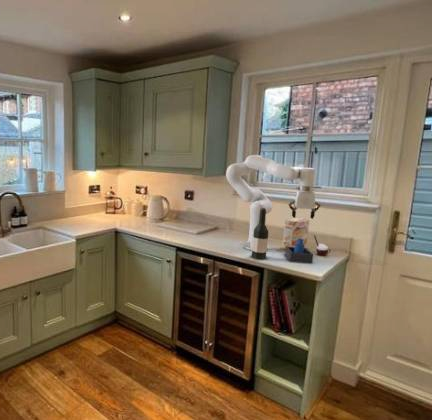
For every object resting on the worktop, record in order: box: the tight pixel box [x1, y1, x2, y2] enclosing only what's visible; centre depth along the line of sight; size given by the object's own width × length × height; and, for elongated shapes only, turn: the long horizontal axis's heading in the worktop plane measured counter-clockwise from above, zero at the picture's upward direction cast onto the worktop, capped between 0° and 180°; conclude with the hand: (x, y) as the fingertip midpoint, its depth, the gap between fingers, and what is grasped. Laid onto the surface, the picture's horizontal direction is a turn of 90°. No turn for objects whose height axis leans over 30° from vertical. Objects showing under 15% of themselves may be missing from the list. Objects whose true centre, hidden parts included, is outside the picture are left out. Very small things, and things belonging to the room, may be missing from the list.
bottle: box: [294, 238, 305, 253], centre depth 214 cm, size 5×5×12 cm
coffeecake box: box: [281, 217, 311, 250], centre depth 234 cm, size 15×7×20 cm, turn 115°
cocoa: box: [313, 234, 331, 256], centre depth 222 cm, size 10×6×12 cm, turn 53°
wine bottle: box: [251, 208, 269, 261], centre depth 213 cm, size 8×8×30 cm
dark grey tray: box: [284, 247, 314, 264], centre depth 214 cm, size 12×14×5 cm
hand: (302, 217), depth 212 cm, fingers open, 9 cm apart
